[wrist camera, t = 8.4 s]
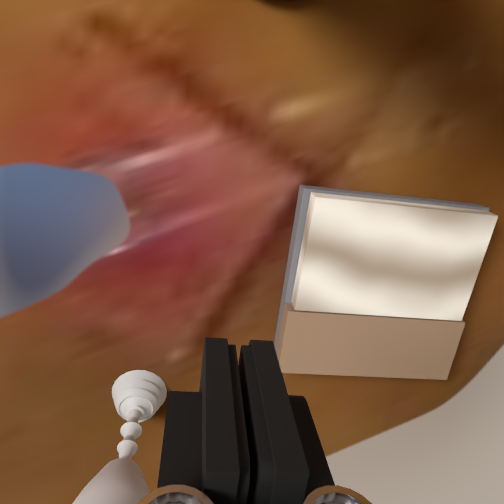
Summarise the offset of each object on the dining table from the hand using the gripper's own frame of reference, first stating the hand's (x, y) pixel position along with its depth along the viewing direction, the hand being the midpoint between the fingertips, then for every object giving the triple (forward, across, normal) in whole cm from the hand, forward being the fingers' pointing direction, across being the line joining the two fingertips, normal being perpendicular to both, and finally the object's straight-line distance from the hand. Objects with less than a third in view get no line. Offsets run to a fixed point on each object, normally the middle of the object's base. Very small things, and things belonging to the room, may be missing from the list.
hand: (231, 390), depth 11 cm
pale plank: (+23, -15, +4) cm, 28 cm away
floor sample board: (+25, -15, +7) cm, 30 cm away
